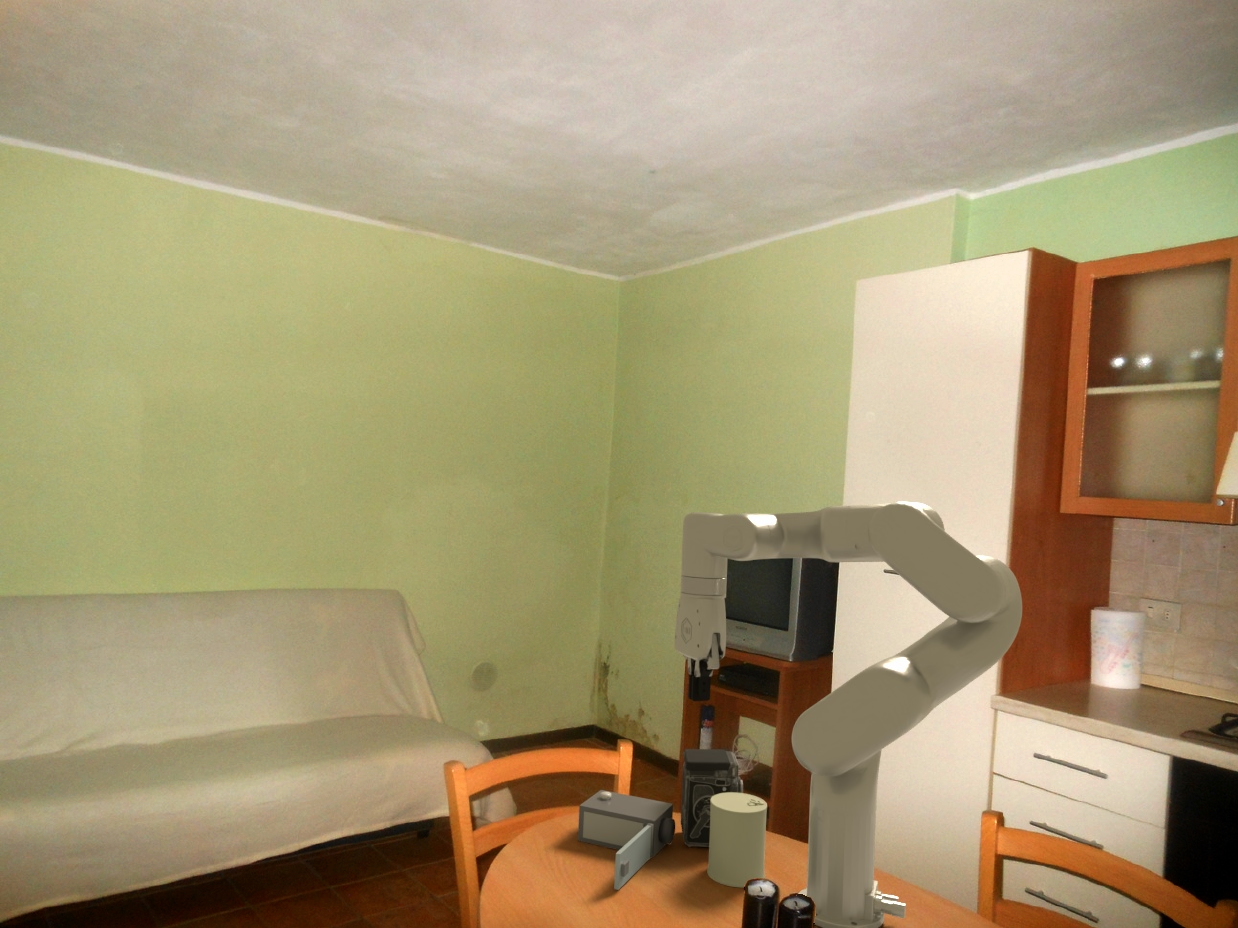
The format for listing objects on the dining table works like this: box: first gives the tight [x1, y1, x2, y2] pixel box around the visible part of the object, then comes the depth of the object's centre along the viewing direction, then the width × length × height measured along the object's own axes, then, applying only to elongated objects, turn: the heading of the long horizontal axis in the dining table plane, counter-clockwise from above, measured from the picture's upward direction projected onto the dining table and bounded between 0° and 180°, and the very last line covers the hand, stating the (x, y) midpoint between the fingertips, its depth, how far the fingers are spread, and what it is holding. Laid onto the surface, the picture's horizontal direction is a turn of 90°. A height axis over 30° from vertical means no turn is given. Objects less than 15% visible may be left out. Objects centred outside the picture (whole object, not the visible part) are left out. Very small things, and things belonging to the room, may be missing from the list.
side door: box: [613, 823, 654, 891], centre depth 135 cm, size 14×2×5 cm, turn 156°
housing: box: [577, 789, 676, 858], centre depth 148 cm, size 16×9×7 cm, turn 67°
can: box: [706, 792, 768, 889], centre depth 136 cm, size 9×9×12 cm
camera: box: [680, 748, 744, 848], centre depth 149 cm, size 10×11×15 cm
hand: (699, 699), depth 139 cm, fingers closed
